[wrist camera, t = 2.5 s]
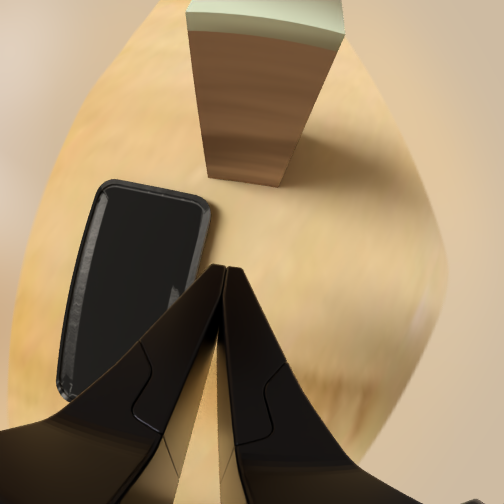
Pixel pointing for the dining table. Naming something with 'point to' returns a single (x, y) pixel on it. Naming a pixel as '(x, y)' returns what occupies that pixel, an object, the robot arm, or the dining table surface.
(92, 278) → the phone
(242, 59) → the walnut block
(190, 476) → the dining table surface
